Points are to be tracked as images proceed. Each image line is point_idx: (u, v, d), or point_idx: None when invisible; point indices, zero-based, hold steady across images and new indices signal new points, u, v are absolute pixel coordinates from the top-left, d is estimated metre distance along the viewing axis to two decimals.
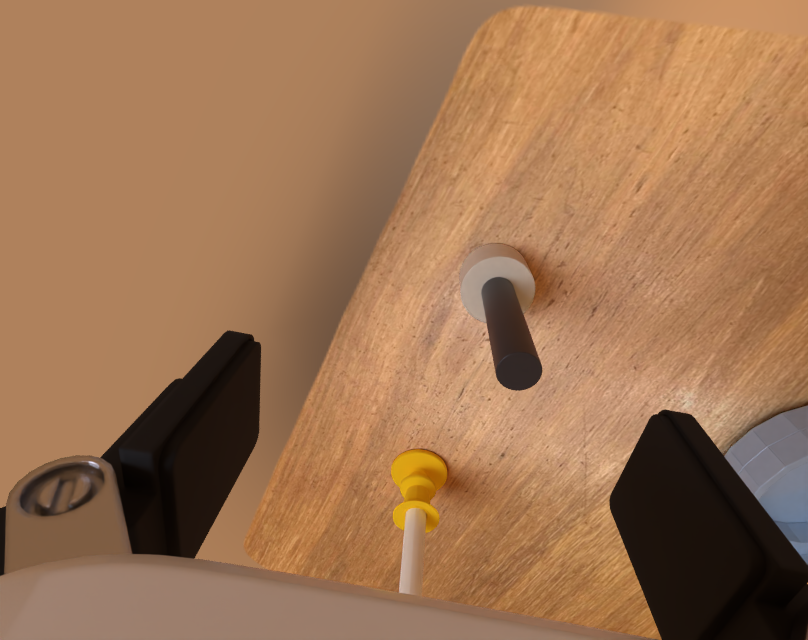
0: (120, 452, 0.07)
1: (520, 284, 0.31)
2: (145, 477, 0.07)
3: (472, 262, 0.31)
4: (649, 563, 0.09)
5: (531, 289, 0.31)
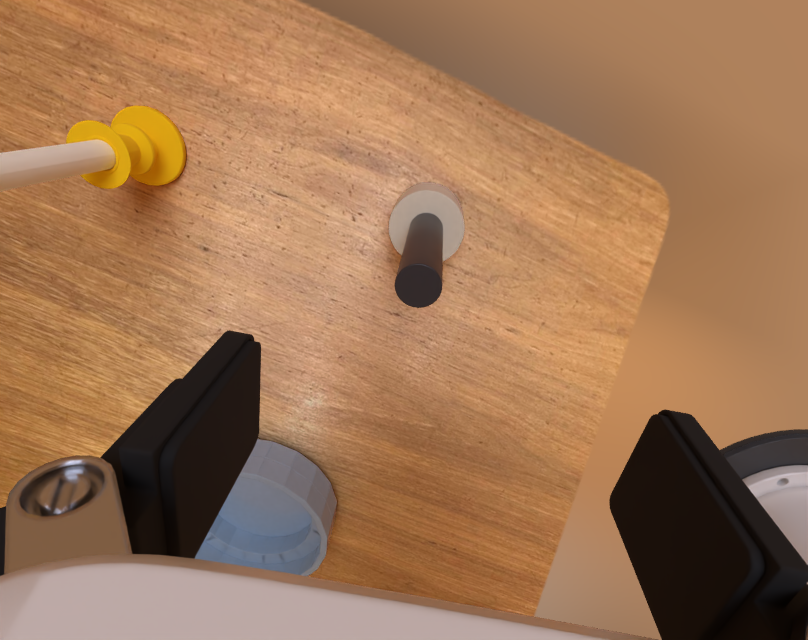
0: (120, 452, 0.07)
1: None
2: (145, 477, 0.07)
3: (453, 199, 0.30)
4: (649, 563, 0.09)
5: None
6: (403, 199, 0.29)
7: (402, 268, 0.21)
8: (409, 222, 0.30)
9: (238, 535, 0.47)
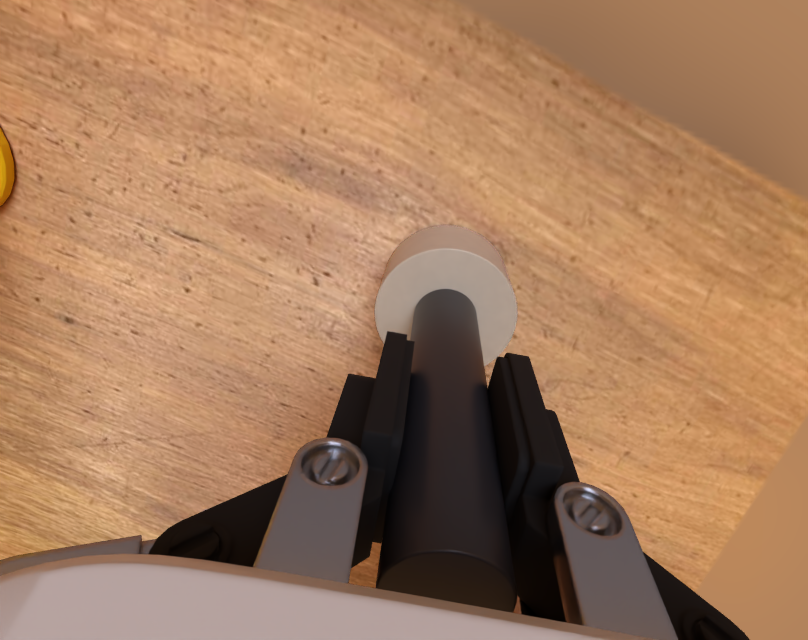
0: (363, 434, 0.08)
1: None
2: (378, 456, 0.08)
3: (497, 262, 0.16)
4: None
5: None
6: (403, 263, 0.15)
7: (399, 550, 0.07)
8: (413, 304, 0.16)
9: None
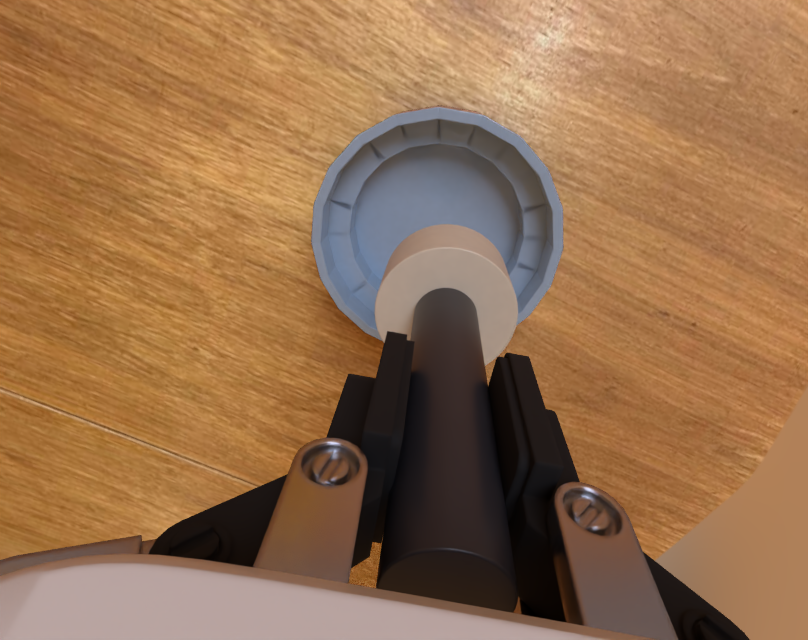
0: (363, 434, 0.08)
1: None
2: (378, 456, 0.08)
3: (498, 261, 0.16)
4: None
5: None
6: (403, 262, 0.15)
7: (400, 549, 0.07)
8: (414, 303, 0.16)
9: None
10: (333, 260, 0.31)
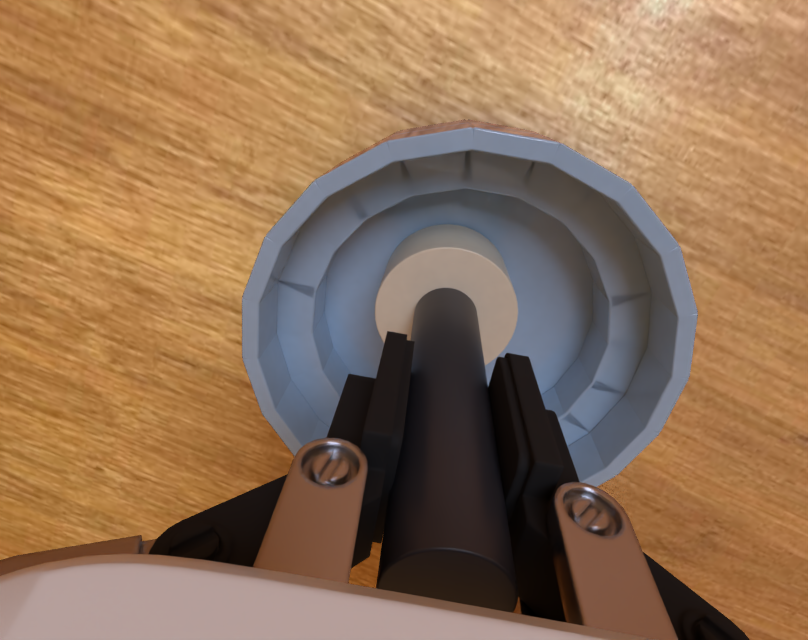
0: (363, 435, 0.08)
1: None
2: (378, 456, 0.08)
3: (498, 261, 0.16)
4: None
5: None
6: (404, 262, 0.15)
7: (400, 548, 0.07)
8: (414, 303, 0.16)
9: None
10: (287, 373, 0.19)
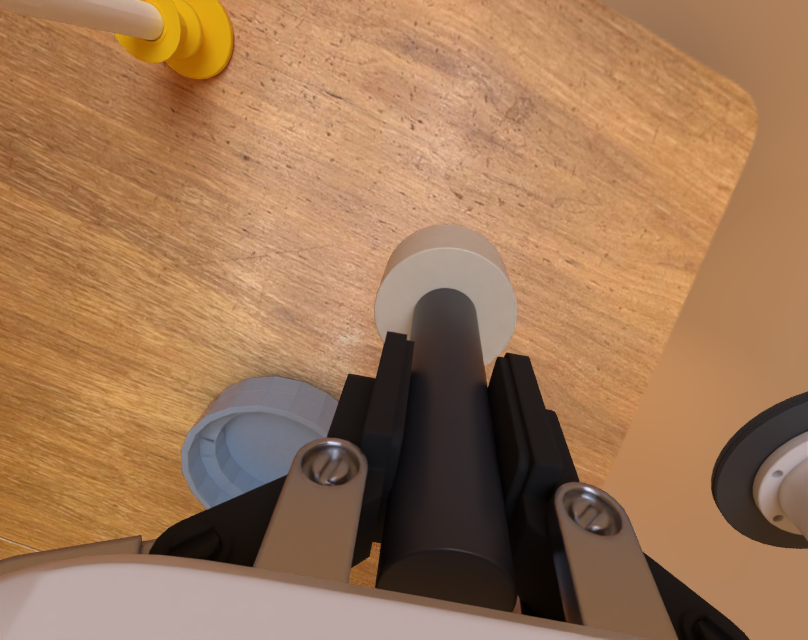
0: (363, 435, 0.08)
1: None
2: (378, 457, 0.08)
3: (497, 262, 0.16)
4: None
5: None
6: (403, 262, 0.15)
7: (399, 548, 0.07)
8: (413, 303, 0.16)
9: (256, 486, 0.44)
10: (205, 471, 0.42)
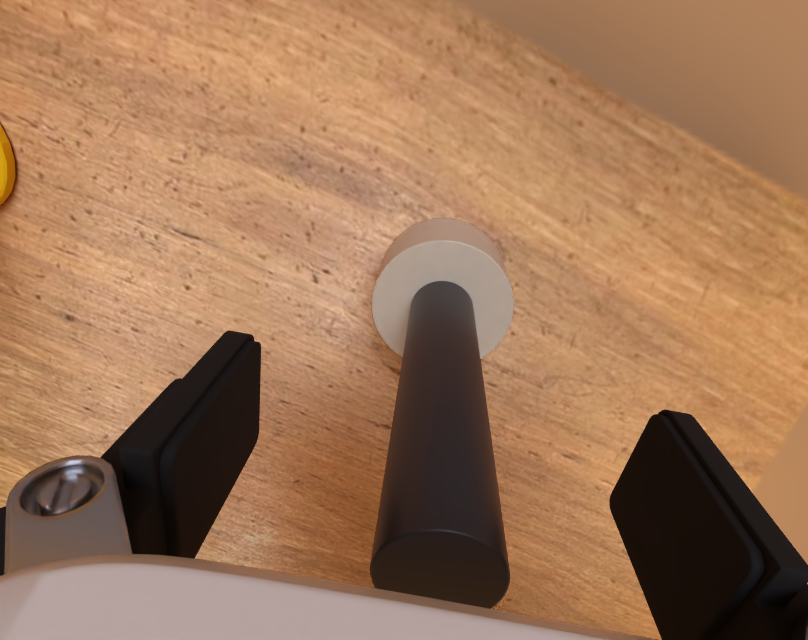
0: (120, 452, 0.07)
1: None
2: (145, 477, 0.07)
3: (494, 255, 0.16)
4: (649, 563, 0.09)
5: None
6: (400, 255, 0.15)
7: (393, 530, 0.07)
8: (410, 296, 0.16)
9: None
10: None
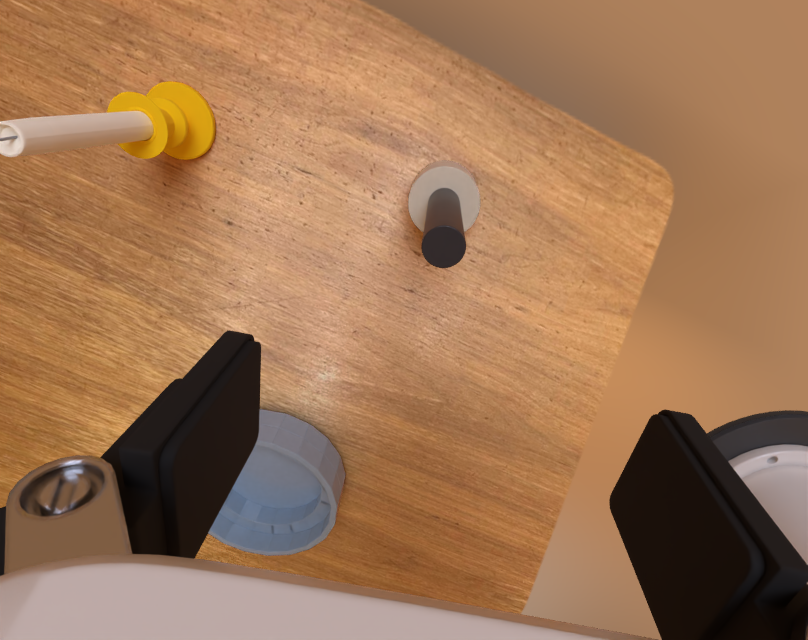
0: (120, 452, 0.07)
1: None
2: (145, 477, 0.07)
3: (470, 176, 0.32)
4: (649, 563, 0.09)
5: None
6: (423, 174, 0.31)
7: (429, 230, 0.23)
8: (428, 197, 0.32)
9: (247, 506, 0.49)
10: None
